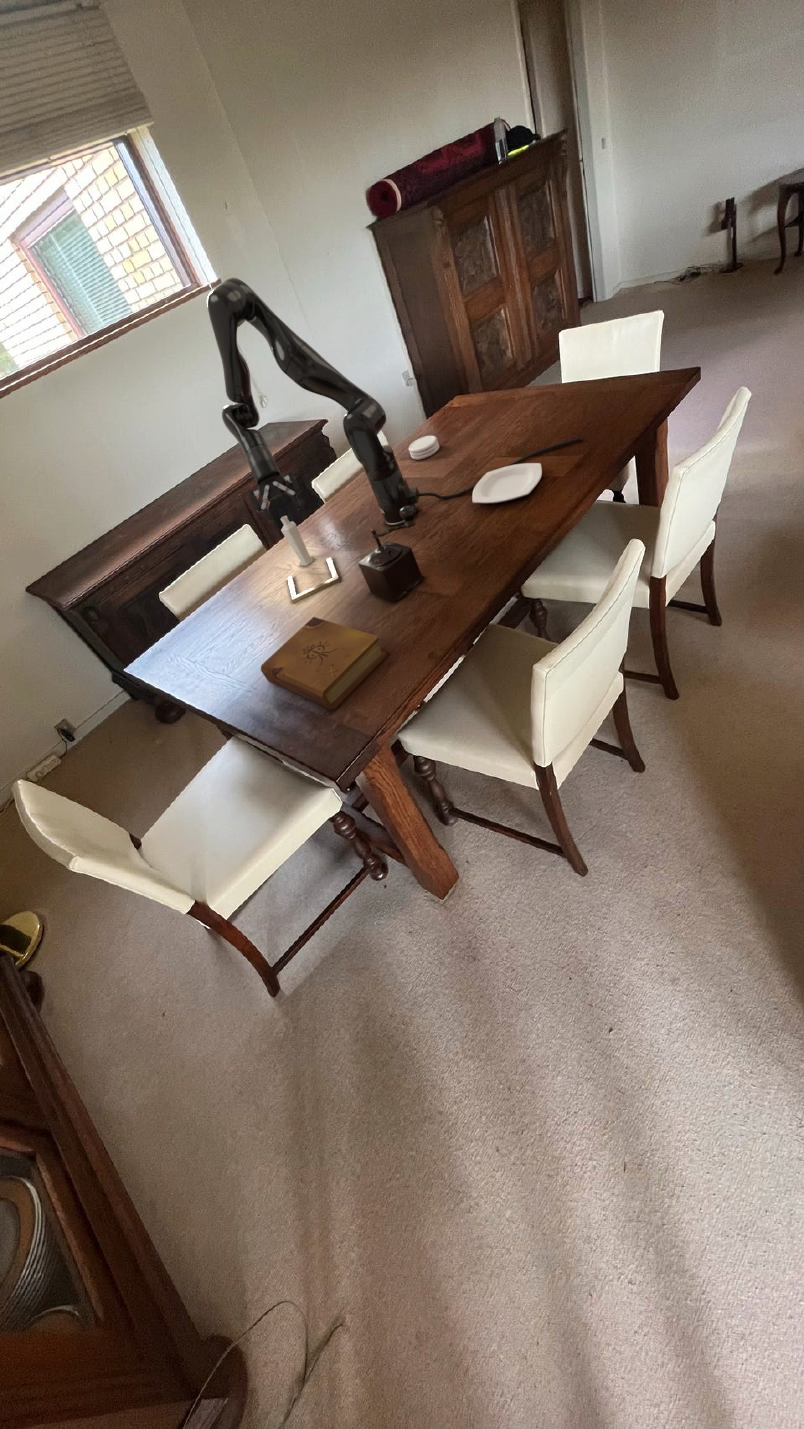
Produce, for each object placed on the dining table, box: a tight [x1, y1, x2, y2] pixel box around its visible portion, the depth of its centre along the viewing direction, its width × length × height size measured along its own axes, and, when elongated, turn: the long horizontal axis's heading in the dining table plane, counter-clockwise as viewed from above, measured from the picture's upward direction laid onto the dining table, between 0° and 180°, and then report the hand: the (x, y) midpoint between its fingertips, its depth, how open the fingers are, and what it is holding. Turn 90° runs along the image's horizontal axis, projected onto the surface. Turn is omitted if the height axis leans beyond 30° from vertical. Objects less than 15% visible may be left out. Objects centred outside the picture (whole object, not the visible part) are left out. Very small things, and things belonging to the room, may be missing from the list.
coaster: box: [408, 435, 440, 461], centre depth 209 cm, size 10×10×4 cm
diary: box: [260, 616, 388, 711], centre depth 142 cm, size 23×19×6 cm
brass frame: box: [286, 556, 341, 604], centre depth 176 cm, size 13×14×1 cm
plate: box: [471, 462, 543, 504], centre depth 172 cm, size 19×19×2 cm
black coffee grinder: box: [357, 506, 424, 603], centre depth 153 cm, size 16×11×18 cm
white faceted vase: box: [280, 515, 314, 567], centre depth 180 cm, size 5×4×15 cm
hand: (285, 515), depth 181 cm, fingers open, 8 cm apart
